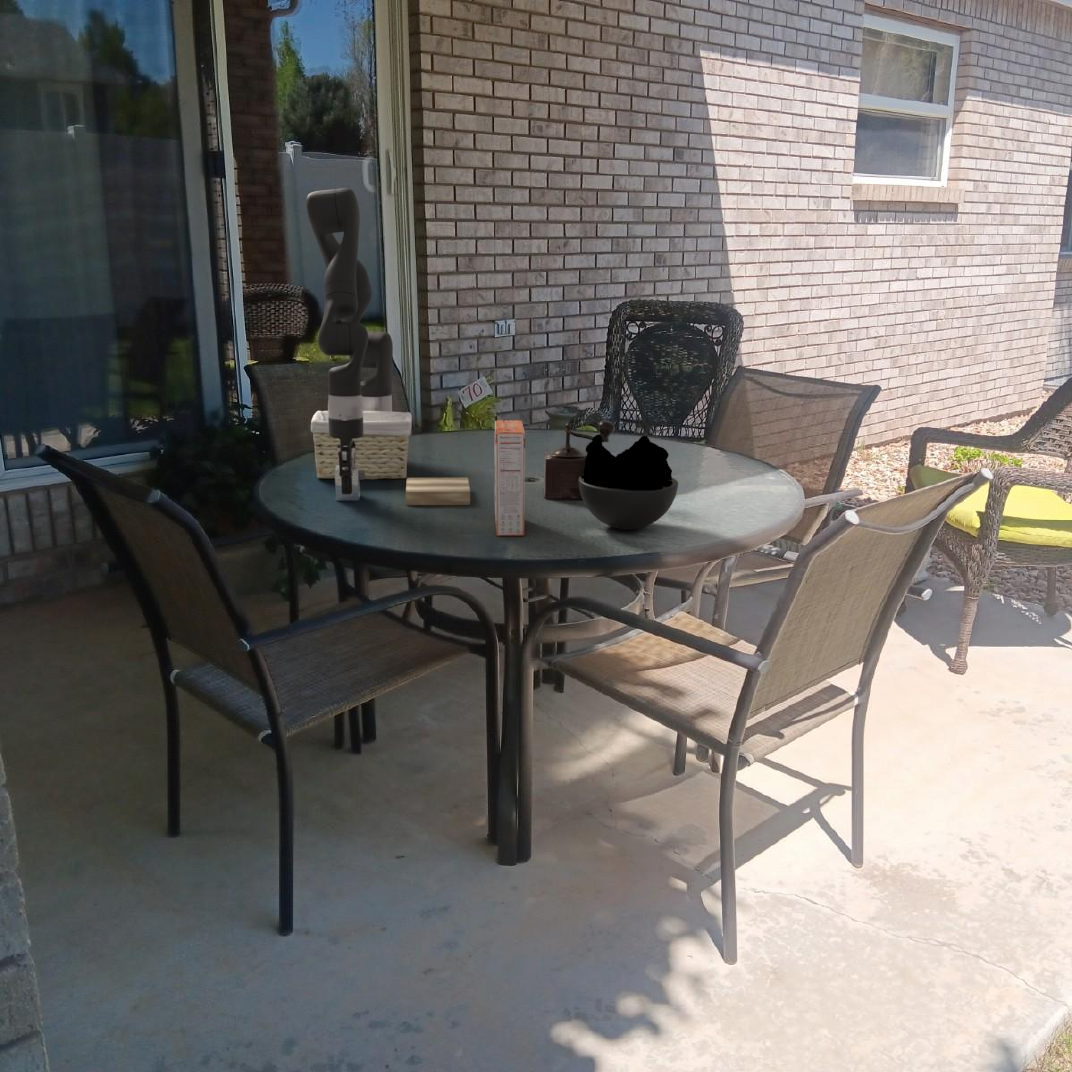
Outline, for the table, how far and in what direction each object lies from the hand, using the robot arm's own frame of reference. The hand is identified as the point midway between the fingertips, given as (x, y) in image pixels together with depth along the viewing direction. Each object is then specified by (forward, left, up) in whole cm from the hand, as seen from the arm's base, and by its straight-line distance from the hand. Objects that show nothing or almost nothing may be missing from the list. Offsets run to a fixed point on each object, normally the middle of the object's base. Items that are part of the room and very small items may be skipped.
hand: (347, 490), depth 228 cm
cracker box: (+26, +34, -2) cm, 43 cm away
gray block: (0, 0, -2) cm, 2 cm away
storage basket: (-26, +2, -2) cm, 26 cm away
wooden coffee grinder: (-2, +52, -2) cm, 52 cm away
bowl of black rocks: (+27, +58, -2) cm, 64 cm away
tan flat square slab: (0, +20, -2) cm, 20 cm away
